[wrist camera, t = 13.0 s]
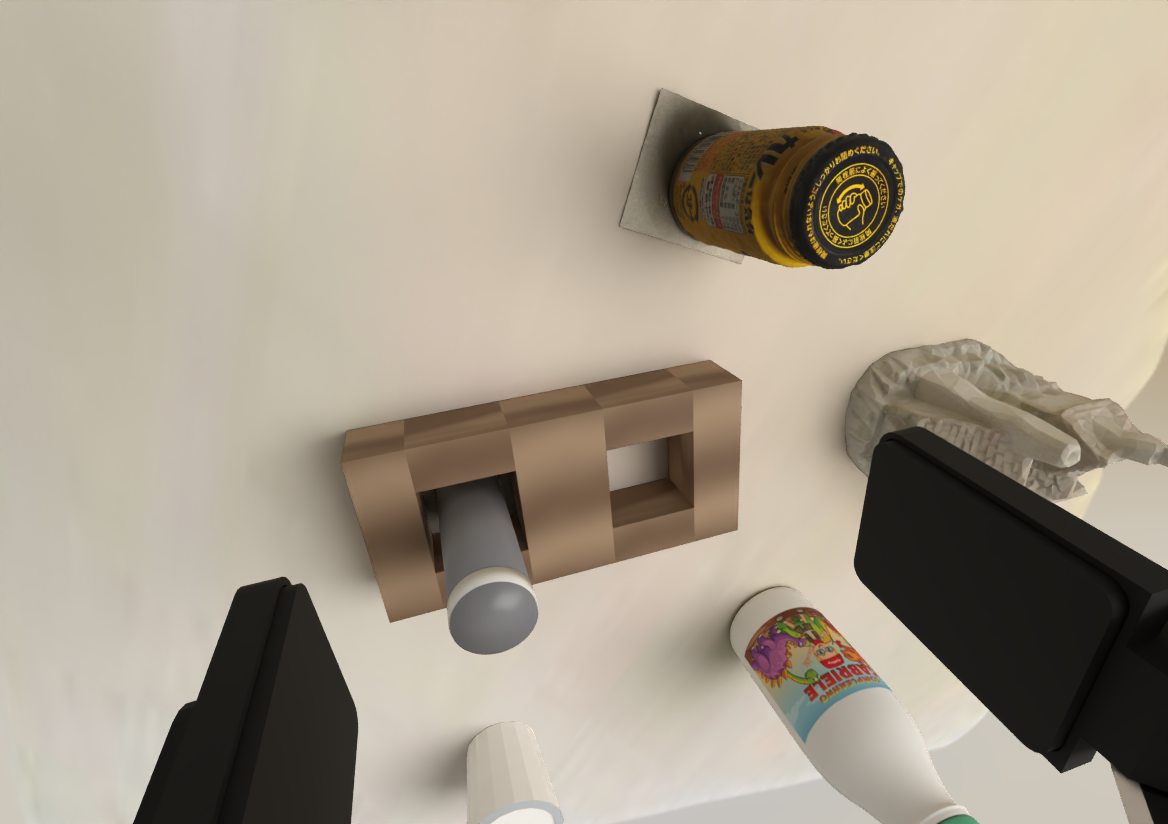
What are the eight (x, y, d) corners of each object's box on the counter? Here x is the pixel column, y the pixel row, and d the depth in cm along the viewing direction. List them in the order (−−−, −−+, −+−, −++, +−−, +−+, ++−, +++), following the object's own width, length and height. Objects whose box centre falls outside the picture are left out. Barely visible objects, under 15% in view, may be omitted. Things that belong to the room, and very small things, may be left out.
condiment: (739, 263, 36) (879, 306, 26) (618, 225, 33) (720, 257, 23) (784, 140, 34) (958, 132, 23) (659, 88, 31) (794, 51, 20)
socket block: (347, 430, 33) (340, 462, 30) (710, 359, 38) (741, 380, 35) (392, 583, 38) (391, 626, 34) (709, 502, 43) (737, 533, 39)
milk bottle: (812, 628, 52) (1021, 867, 35) (737, 668, 51) (912, 933, 34) (798, 569, 49) (1023, 802, 31) (717, 611, 48) (902, 874, 30)
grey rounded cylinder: (429, 467, 36) (440, 597, 25) (495, 453, 36) (533, 573, 26) (441, 522, 37) (458, 665, 27) (504, 507, 38) (544, 640, 28)
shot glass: (498, 704, 45) (514, 790, 39) (559, 732, 48) (583, 816, 42) (440, 762, 46) (446, 856, 39) (504, 786, 49) (519, 877, 43)
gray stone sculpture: (867, 338, 41) (1087, 440, 28) (1027, 337, 46) (1273, 423, 34) (807, 517, 48) (963, 664, 35) (953, 498, 53) (1135, 620, 40)
